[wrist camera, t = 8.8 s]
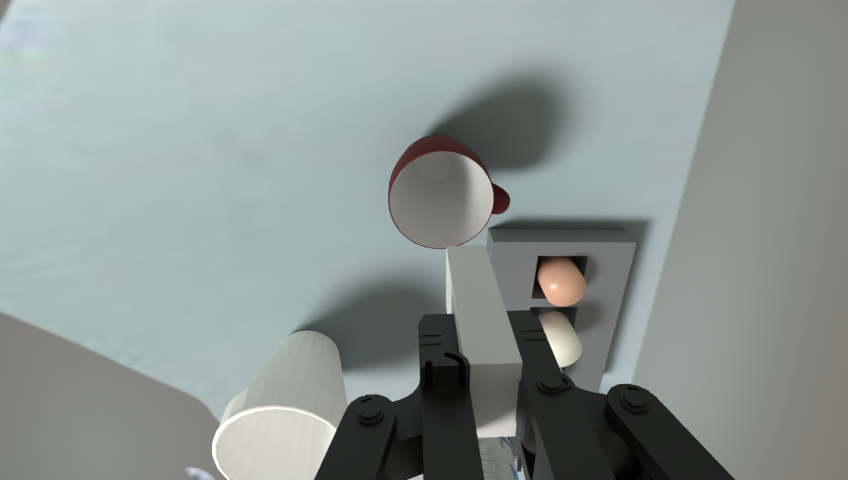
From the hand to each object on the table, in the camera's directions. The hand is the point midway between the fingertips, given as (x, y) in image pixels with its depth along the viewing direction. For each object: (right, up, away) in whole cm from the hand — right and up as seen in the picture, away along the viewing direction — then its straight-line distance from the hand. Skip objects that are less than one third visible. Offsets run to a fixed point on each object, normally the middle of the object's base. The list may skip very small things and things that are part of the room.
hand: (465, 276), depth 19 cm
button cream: (+12, -8, +31) cm, 34 cm away
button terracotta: (+12, -1, +31) cm, 33 cm away
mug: (0, +9, +26) cm, 28 cm away
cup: (-15, -12, +36) cm, 40 cm away
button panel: (+12, -6, +34) cm, 37 cm away
